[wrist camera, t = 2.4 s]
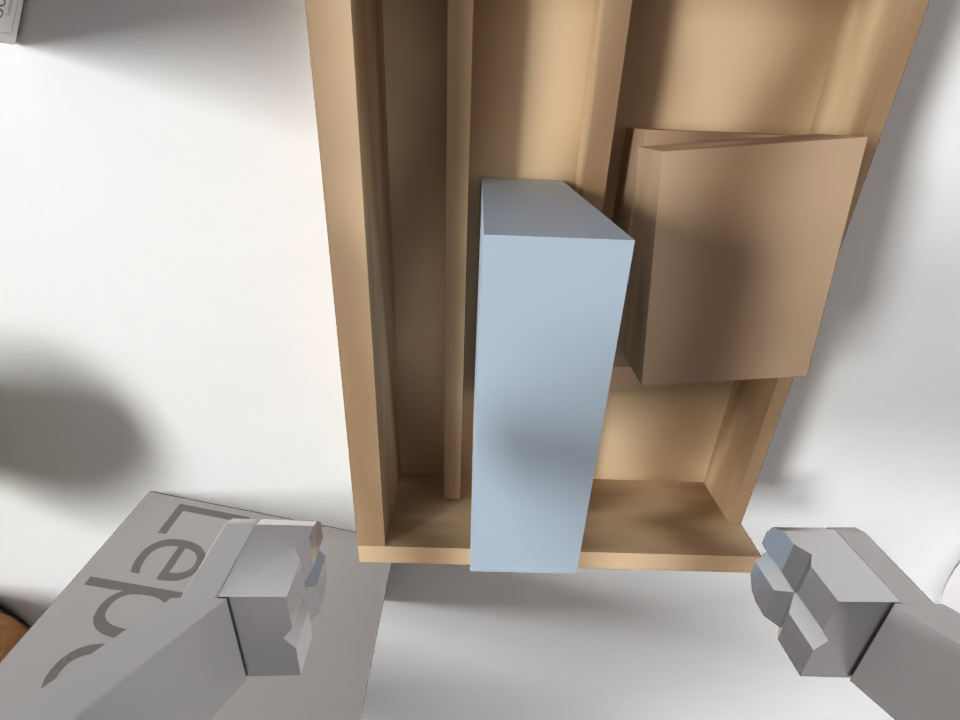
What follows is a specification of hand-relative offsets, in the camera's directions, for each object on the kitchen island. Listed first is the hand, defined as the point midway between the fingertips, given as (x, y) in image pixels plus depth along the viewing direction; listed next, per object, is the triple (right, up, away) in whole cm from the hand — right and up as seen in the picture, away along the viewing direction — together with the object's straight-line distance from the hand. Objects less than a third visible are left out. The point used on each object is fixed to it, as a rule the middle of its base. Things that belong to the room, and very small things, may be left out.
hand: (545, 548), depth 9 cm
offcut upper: (+8, +7, +10) cm, 14 cm away
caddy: (+3, +8, +13) cm, 16 cm away
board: (0, +6, +13) cm, 14 cm away
